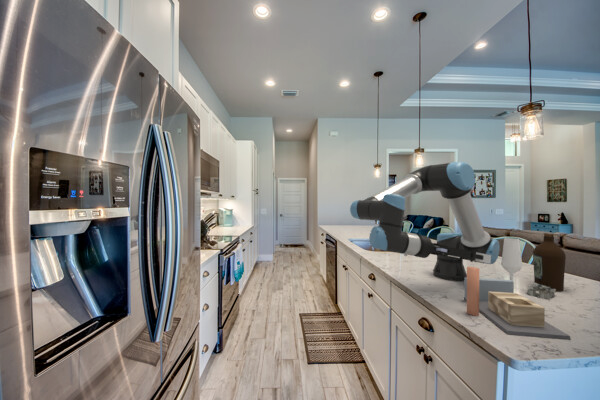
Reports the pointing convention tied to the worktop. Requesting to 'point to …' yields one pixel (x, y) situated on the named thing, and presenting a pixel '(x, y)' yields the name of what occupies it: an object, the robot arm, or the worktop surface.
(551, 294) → the egg carton
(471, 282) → the dowel
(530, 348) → the worktop surface
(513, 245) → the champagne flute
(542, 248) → the olive oil
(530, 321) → the socket block
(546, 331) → the mat
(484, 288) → the wall
